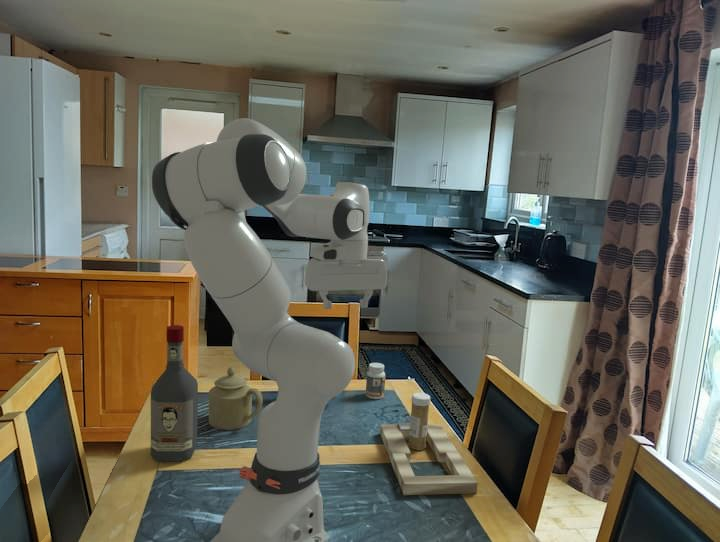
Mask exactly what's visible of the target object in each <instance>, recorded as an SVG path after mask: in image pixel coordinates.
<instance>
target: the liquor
mask: <svg viewBox="0 0 720 542" xmlns="http://www.w3.org/2000/svg"><path fill="white" fill-rule="evenodd" d="M184 329H185V327H184V326H183V325H178V324H175V325H168V326H166V342H167V343H166V345H167V346H166V347H167V348H166V349H167V351H166V358H167V359H166V366H165V370H164V371H163V372H162V373H161V375H160V376H159V377H158V378H157V380H156V381H155V383H154V384H152V387H151V389H150V456H151V457H152V459H153V460H155V461H156V462H157V461H158V462H157V463H159V462H174V464H176V463H175V462H181V463H184V462H186V461H189V460H190V459H192V457H193V455H194V452H195V450H196V447H197V446H198V412H199V411H198V409H199V407H198V401H199V398H198V397H199V396H198V395H199V394H198V393H199V386H198V385H199V383H198V380H197V378H196V377H194V375H192V373H190V371H188V369H186V368H185V363H184V359H183V358H184V357H183V356H184V355H183V354H184V352H183V351H184V350H183V349H184V348H183V347H184V346H183V344H184V340H185V339H184V338H185V337H184V333H185V332H184V331H185V330H184ZM183 461H184V462H183Z"/></svg>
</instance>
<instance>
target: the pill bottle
mask: <svg viewBox="0 0 720 542" xmlns="http://www.w3.org/2000/svg"><path fill="white" fill-rule="evenodd" d="M365 384H366V385H365V396H366V397H367V398H368V399H371V400H373V399H374V400H380V399H382V398H384V397H385V386H386V373H385V365H384V363H381V362H371V363H369V364H368V371H367V372H366V383H365Z"/></svg>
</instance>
